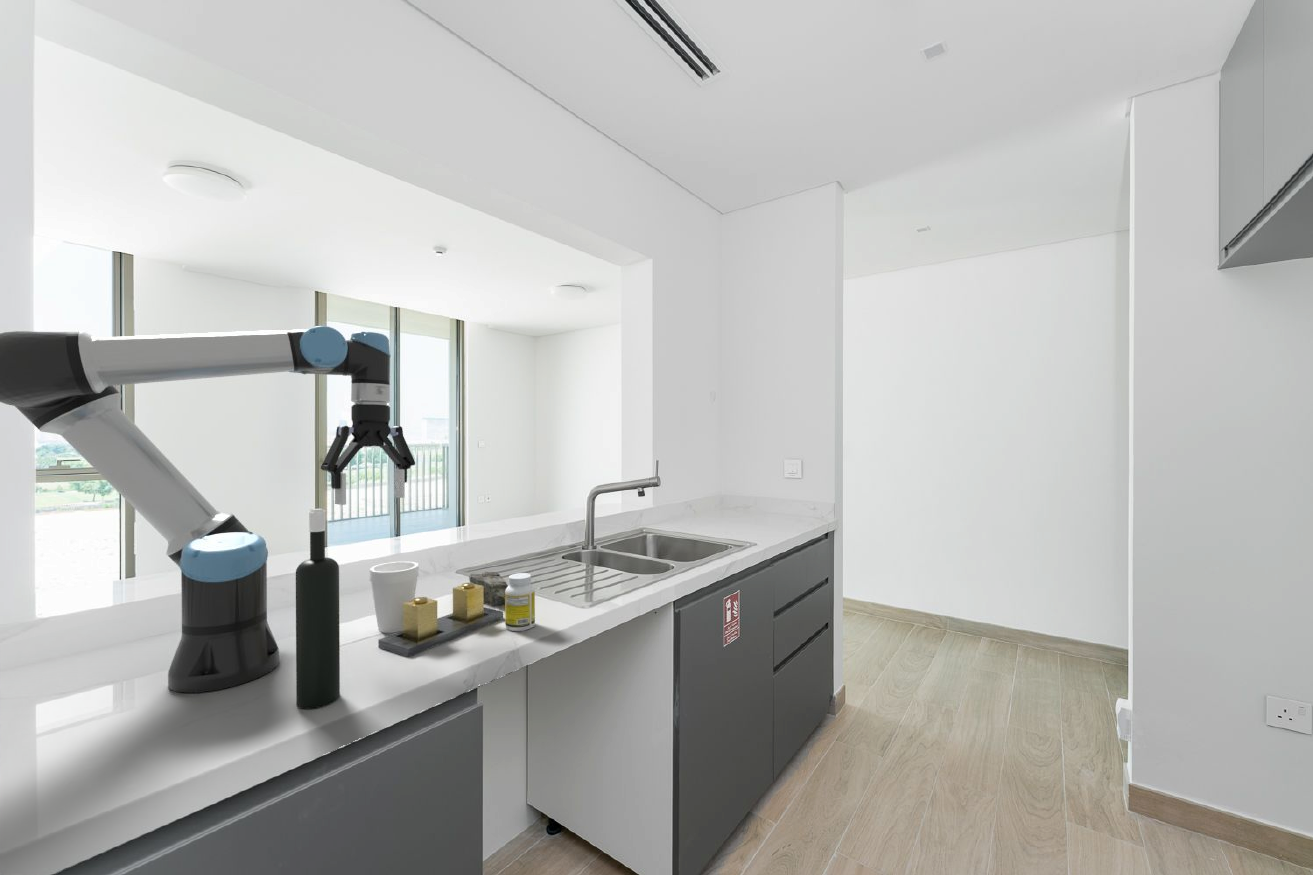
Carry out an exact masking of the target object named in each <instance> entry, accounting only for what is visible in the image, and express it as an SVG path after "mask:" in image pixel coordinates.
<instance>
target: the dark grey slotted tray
mask: <svg viewBox="0 0 1313 875" xmlns="http://www.w3.org/2000/svg"><path fill="white" fill-rule="evenodd" d="M503 619H504V611H503V610H502V611H501V610H498V609H493V608H488V607H484V606H483V617H482V618H479V619H477V620H474V621H471V622H469V623H463V622H459V621H455V620H453V612H452V613H450V614H446V615H444V616H441V617H437V635H435V636H433V637H430V638H427V639H425V640H422V641H420V642H417V643H416V642H413V641H410V640H406V639H403V630H402V631H398V632H395V633H393V634H391V635H387V636H385V637H382V638H379V639H378V645H377V646H378V648H380V649H383V650H385V651H387V652H388V651H389V652H392V653H395V654H398V655H401V656H405V657H407V658H410V657H411V656H414V655H417V654H419V653H421V652H424V651H427V650H428V649H432V648H434V647H437V646H438V645H440V644H444V643H446V642H448V641H451V640H453V639H455V638H458V637H460V636H463V635H466V634H468V633H470V632H473V631H476V630H478V629H481V628H483V627H485V626H488V625H490V624H493V623H495V622H498V621H500V620H503Z"/></svg>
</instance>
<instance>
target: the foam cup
mask: <svg viewBox="0 0 1313 875" xmlns="http://www.w3.org/2000/svg"><path fill="white" fill-rule="evenodd" d="M419 565H420V564H419V563H418V562H415V561H409V560H407V561H392V562H391V561H390V562H385V563H380V564H376V565H374V566H372V567H370V568H369V582H370V584H371V591H372V597H373V604H374V605H373V606H374V610H375V611H374V612H375V616H376V624H377V628H378V631H379V632H381V633H387V634H388V633H398V632H401V631H403V603H405V602H409V601H412V600H413V599H415V598H416V591H417V582H418V577H419V570H420V568H419Z"/></svg>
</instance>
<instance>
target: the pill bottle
mask: <svg viewBox="0 0 1313 875" xmlns="http://www.w3.org/2000/svg"><path fill="white" fill-rule="evenodd" d="M531 582H532V575H531V574H530V573H527V572H519V573H513V574H510V575H509V576H508V584H509V585H508V587H507V588H506V590H505V602H504V607H505V608H504V610H505V611H504V612H505V613H504V615H505V617H504V618H505V620H504V621H505V622H504V623H505V628H506V629H507V630H509V631H513V632H523V631H527V630H530V629H532V628H534V627H535V622H536V620H535V619H536V617H535V616H536V611H535V610H536V607H535V606H536V605H535V603H536V602H535V600H536V599H535V597H536V594H535V587H534V585H533V584H531Z"/></svg>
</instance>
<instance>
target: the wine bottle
mask: <svg viewBox="0 0 1313 875" xmlns="http://www.w3.org/2000/svg"><path fill="white" fill-rule="evenodd" d="M308 514H309V515H308V516H309V517H308V518H309V519H308V520H309V522H308V523H309V524H308V526H309V528H308V529H309V530H308V532H309V548H310V549H309V558H308V559H305V560H304V561H302V562H301V563H300V564H298V566H297V568H296V569H295V658H296V659H295V669H296V670H295V677H296V678H295V680H296V683H295V684H296V685H295V686H296V687H295V688H296V689H295V690H296V697H295V698H296V701H295V702H296V704H295V705H296V707H297V708H299V709H301V710H313V709H319V708H323V707H326V706H329V705H331V704H333V703H334V702H336V701H337V700H338V699H339V698H340V697H341V694H340V693H341V690H340V689H341V686H340V684H341V682H340V681H341V679H340V678H341V676H340V675H341V673H340V671H341V670H340V669H341V667H340V665H341V664H340V663H341V662H340V661H341V660H340V658H341V657H340V648H341V646H340V644H341V643H340V566H339V563H338V562H337V561H336V560H335V559H333V558H331V557H326V529H327V528H326V524H327V523H326V510H325V509H324V508H321V507H320V508H313V509H312V508H311V509H309V513H308Z"/></svg>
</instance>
